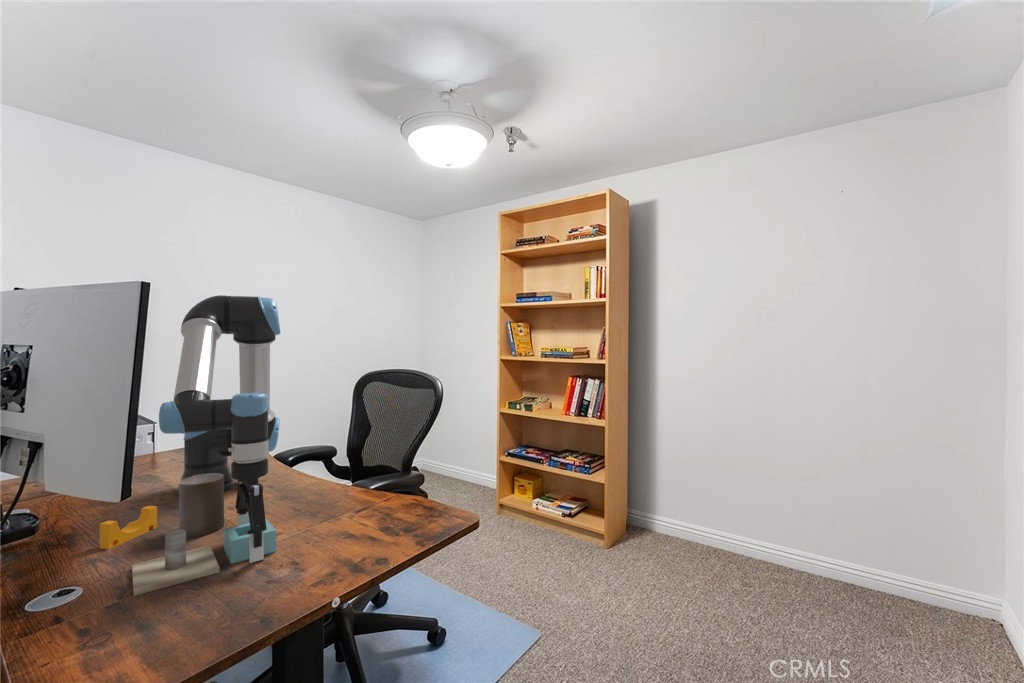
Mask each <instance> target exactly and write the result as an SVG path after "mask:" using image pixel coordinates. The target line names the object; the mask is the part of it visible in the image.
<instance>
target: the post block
mask: <svg viewBox="0 0 1024 683" xmlns="http://www.w3.org/2000/svg"><path fill="white" fill-rule="evenodd" d="M131 566H132V570H131V571H132V591H133V592H132V593H133V597H137V596H140V595H144V594H146V593H151V592H154V591H158V590H161V589H164V588H169V587H171V586H176V585H178V584H183V583H186V582H189V581H192V580H196V579H200V578H203V577H207V576H210V575H211V576H212V575H214V574H218V573H220V569H221V567H220V565H219V563H218V561H217V559H216V556H215V553H214V551H213V549H212V547H211V544H210V545H206V546H202V547H197V548H193V549H190V550H187V537H186V530H179V529H175V530H172V531H169V532H167V533H165V535H164V556H161V557H158V558H154V559H153V558H152V559H148V560H145V561H140V562H136V563H132V565H131Z"/></svg>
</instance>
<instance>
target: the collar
mask: <svg viewBox="0 0 1024 683" xmlns="http://www.w3.org/2000/svg"><path fill="white" fill-rule="evenodd" d="M265 520H266V526H267V529H266V530H265V531H264V556H265V555H268V554H273V553H275V552H277V530H276V528H275V527H274V526H273V525H272V524H271V522H270V521H269V520H268V519H267V518H265ZM257 526H260V525H257ZM257 526H256V527H257ZM249 530H251V529H250V523H247V524H242V525H238V526H237V525H234V526H231V527H225V528H223V537H224V538H223V548H224V549H223V551H224V552H225V555H226V556H227V558H228V561H229V563H230V564H231V565H234V564H236V563H241V562H242V561H247V560H249V534H247V532H248V531H249Z"/></svg>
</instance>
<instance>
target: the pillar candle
mask: <svg viewBox="0 0 1024 683" xmlns="http://www.w3.org/2000/svg"><path fill="white" fill-rule="evenodd" d="M180 480H181V479H180ZM180 480H179V482H178V486H179V496H178V498H179V499H178V502H179V504H178V505H179V507H178V509H179V511H178V514H179V516H178V519H179V522H178V524H179V526H178V527H179V529H178V530H186V538H200V537H205V536H208V535H211V534H213V533H214V534H215V533H216V532H218V531H219V530H222V529H223V528H224V527H225V526H224V525H225V496H224V495H225V492H224V475H223V474H218V473H209V474H201V475H196V476H191V477H188V478H185V479H182V480H181V481H180Z"/></svg>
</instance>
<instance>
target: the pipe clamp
mask: <svg viewBox="0 0 1024 683" xmlns="http://www.w3.org/2000/svg"><path fill="white" fill-rule="evenodd" d="M156 528H158V506H156V505H146V506H145V507H142V508H141V510H140V514H139V517H138V518H137V519H136V520H133V521H131V522H128V524H127V525H126V526H125V527H123V528H121V529H120V527H119V523H118V521H117V520H106V521H103V522H101V523H99V549H101V550H102V549H103V550H111V549H113V548H115V547H116V546H117V547H118V546H119V545H121V544H124V543H126V542H129V541H130V540H132V539H135V538H137V537H139V536H141V535H143V534H146V533H148V532H150V531H151V530H156Z"/></svg>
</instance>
